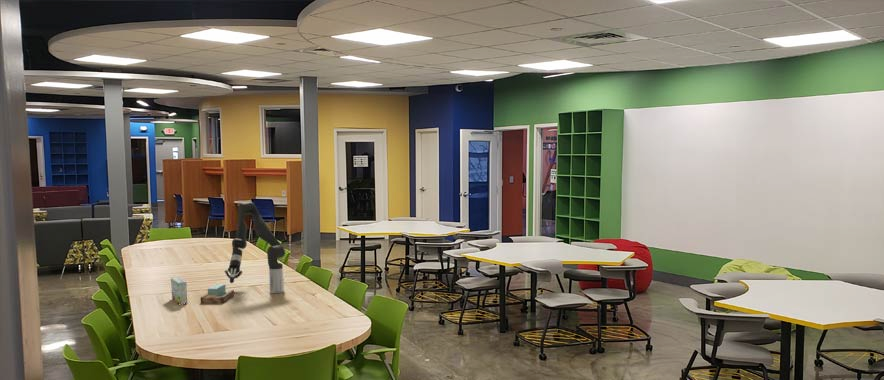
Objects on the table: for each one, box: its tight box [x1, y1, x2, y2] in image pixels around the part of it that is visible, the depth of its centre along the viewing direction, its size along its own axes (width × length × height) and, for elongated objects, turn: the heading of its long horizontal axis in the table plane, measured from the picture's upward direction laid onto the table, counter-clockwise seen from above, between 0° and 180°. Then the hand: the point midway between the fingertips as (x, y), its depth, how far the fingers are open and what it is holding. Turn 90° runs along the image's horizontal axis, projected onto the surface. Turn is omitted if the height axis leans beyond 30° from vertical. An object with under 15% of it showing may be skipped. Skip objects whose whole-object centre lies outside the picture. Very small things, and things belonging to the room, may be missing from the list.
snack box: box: [170, 276, 188, 305], centre depth 407 cm, size 21×6×15 cm, turn 37°
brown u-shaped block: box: [200, 290, 235, 304], centre depth 412 cm, size 15×20×4 cm
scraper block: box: [207, 283, 227, 297], centre depth 417 cm, size 6×14×8 cm, turn 176°
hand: (231, 282), depth 437 cm, fingers closed
